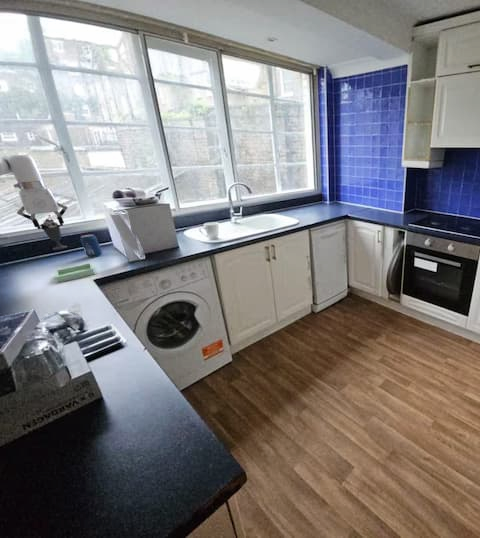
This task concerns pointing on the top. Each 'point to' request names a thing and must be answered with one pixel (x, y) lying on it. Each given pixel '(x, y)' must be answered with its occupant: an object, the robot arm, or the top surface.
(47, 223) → the sundae
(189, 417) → the top surface
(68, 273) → the tray
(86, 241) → the soda can
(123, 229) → the skyscraper
